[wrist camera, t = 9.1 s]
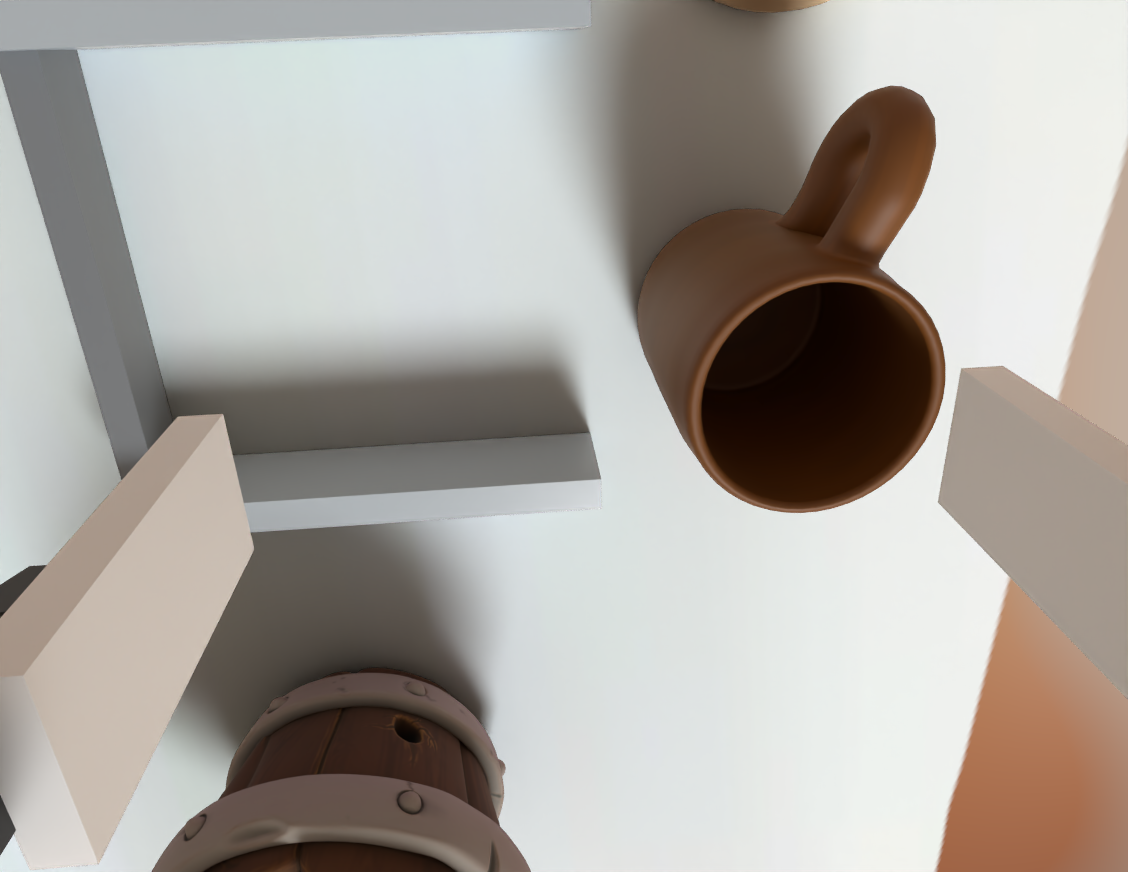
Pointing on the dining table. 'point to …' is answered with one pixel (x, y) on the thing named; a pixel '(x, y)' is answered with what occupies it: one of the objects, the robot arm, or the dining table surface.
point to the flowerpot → (356, 786)
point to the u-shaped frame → (111, 296)
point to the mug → (804, 324)
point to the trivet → (770, 4)
